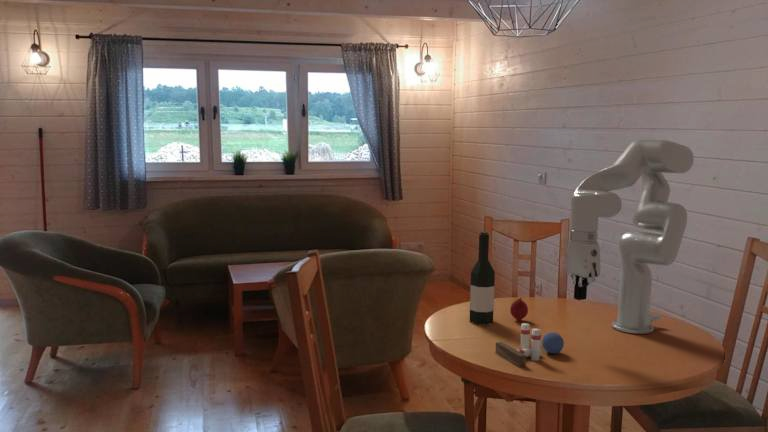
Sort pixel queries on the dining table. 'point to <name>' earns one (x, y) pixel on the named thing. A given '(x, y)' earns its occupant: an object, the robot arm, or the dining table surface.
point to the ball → (552, 343)
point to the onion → (519, 309)
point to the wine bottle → (482, 285)
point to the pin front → (527, 351)
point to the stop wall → (511, 354)
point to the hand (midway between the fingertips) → (580, 299)
